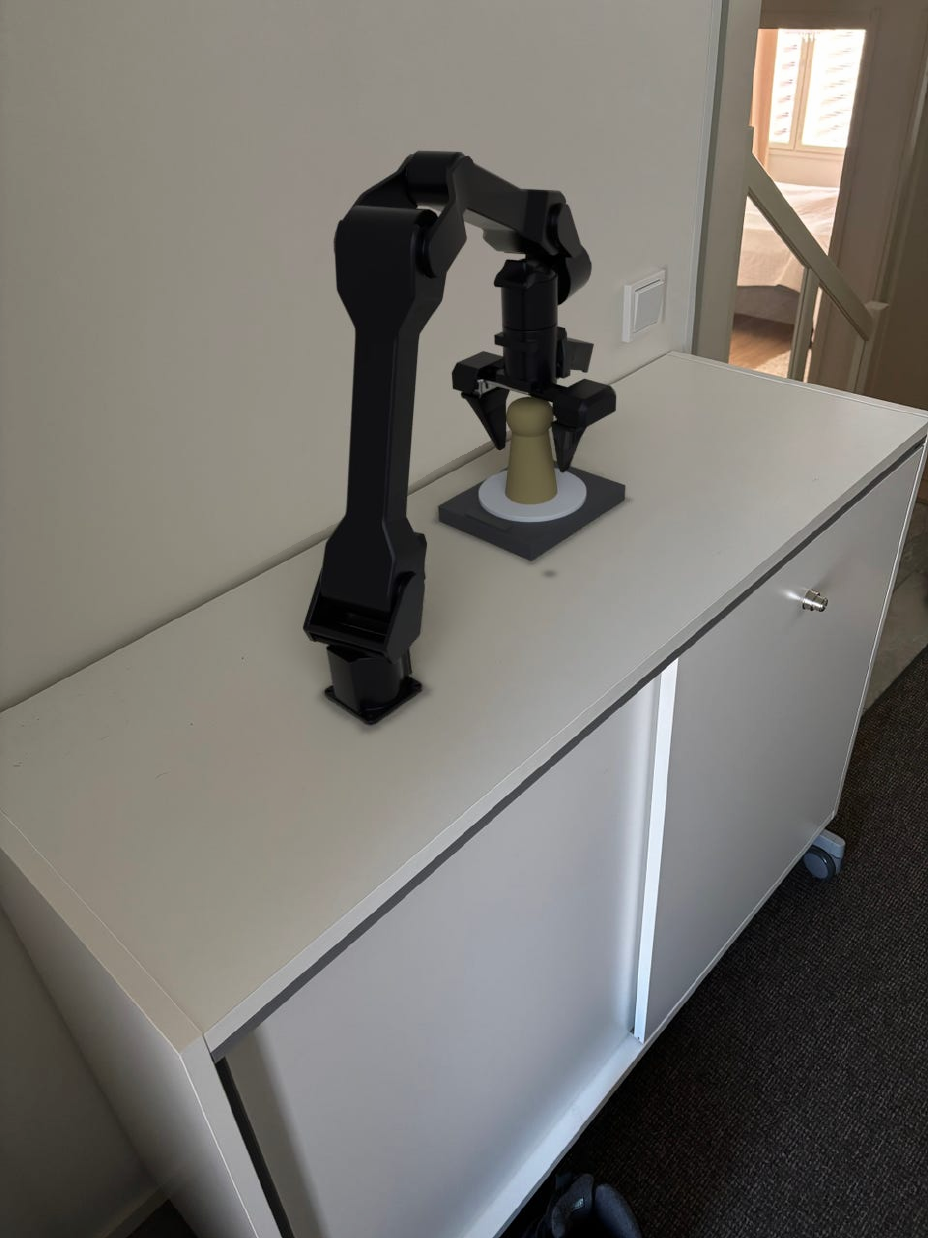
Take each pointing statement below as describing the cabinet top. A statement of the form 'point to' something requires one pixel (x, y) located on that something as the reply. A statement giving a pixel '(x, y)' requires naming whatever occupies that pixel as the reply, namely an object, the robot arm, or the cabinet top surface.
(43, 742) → the cabinet top surface
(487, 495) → the scale
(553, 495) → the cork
